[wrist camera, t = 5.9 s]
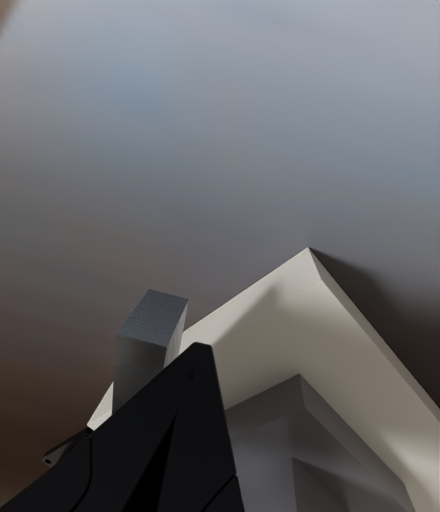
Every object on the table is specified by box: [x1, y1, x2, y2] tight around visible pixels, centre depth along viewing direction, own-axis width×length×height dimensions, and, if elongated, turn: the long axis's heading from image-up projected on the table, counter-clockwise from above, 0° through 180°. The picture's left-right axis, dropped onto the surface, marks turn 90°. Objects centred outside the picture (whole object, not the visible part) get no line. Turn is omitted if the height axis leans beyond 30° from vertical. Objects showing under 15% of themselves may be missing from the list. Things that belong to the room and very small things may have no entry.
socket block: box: [87, 247, 440, 512], centre depth 15 cm, size 14×14×3 cm
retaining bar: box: [112, 289, 189, 414], centre depth 10 cm, size 13×2×4 cm, turn 168°
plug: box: [225, 373, 415, 512], centre depth 12 cm, size 8×8×9 cm
